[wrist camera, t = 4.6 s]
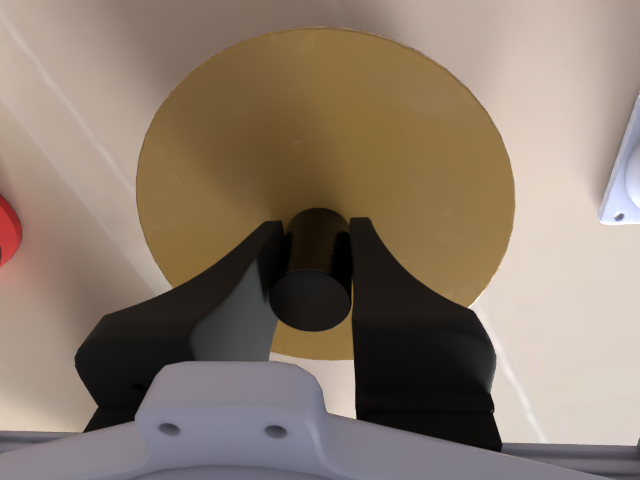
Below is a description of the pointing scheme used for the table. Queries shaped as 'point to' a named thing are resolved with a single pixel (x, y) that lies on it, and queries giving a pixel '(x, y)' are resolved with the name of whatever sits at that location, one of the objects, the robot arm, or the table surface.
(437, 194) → the tin lid
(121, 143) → the table surface
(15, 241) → the canned food
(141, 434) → the robot arm
